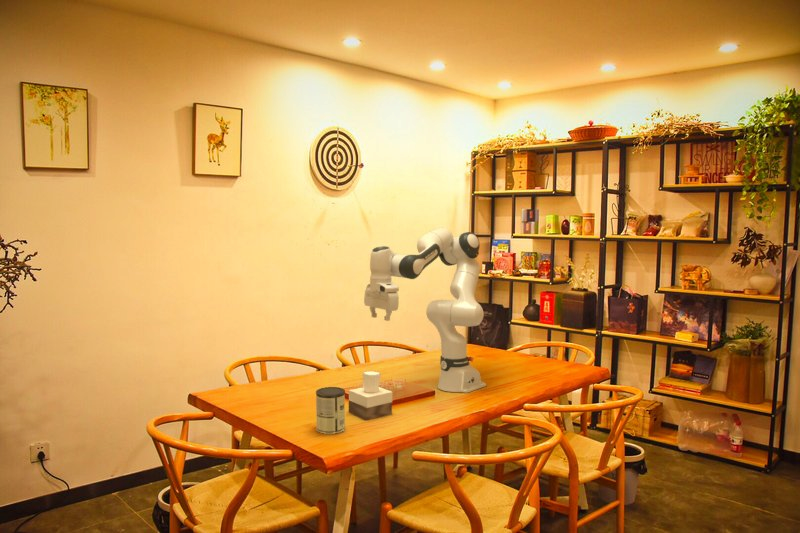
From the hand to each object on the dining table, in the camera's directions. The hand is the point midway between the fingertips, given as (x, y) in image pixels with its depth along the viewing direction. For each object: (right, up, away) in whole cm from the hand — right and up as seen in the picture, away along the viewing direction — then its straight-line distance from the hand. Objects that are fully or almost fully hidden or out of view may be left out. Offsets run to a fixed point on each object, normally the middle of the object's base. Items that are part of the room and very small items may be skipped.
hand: (380, 318), depth 258 cm
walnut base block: (-3, -35, -19) cm, 40 cm away
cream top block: (-3, -30, -19) cm, 36 cm away
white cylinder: (-3, -26, -19) cm, 33 cm away
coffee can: (-17, -37, -37) cm, 54 cm away
